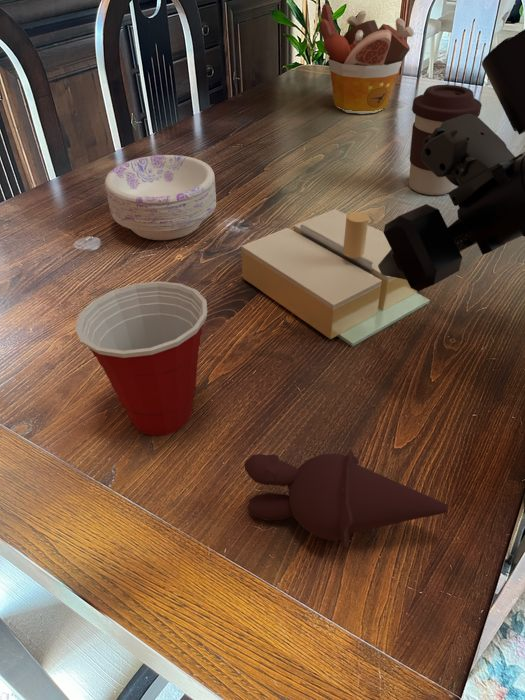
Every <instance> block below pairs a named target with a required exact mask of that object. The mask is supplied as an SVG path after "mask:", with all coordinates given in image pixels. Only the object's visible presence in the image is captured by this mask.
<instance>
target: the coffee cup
mask: <svg viewBox="0 0 525 700" xmlns="http://www.w3.org/2000/svg"><path fill="white" fill-rule="evenodd" d="M474 95H475V94H474V92H473V90H471V89H470V88H469V87H466V86H462V85H457V84H436V85H435V84H434V85H432V86H428V87H427V88H426V89H425V90H424V92H423V93H422V94H420V95H417V96H415V97H414V99H413V100H412V101H413V102H412V105H411V112H412V113H413V114H414V122H413V123H412V128H411V129H412V130H411V140H410V151H409V163H410V166H409V176H408V185H409V187H410V189H411V190H413V191H415V192H416V193H419V194H423V195H427V196H443V195H446V194H448V193H449V192H451V191H452V190H454V189H455V185H454V184H452V183H451V182H450V181H449V180H448V179H447V178H446V177H445V176H444V177H437V176H436V175H435V174H434V173H433V172H432V171H431V170H430V169H429V168H428V167H427V166H426V165H425V164H424V163H423V161H422V159H421V152H422V150H423V148H424V146H423V139H424V138H425V137H427V136H429V135H431V134H432V133H433V132H434V130H435V129H436V128H439V127H440V126H441V124H442V123H443V122H444V121H447V120H450V119H453V118H456V117H459V116H462V115H465V114H472V115H475V116H477V117H478V118H479V116H480V114H481V110H482V106H483V105H482V102H481V101H480V100H479V99H477V98H475V96H474Z"/></svg>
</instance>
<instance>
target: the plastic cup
mask: <svg viewBox="0 0 525 700" xmlns="http://www.w3.org/2000/svg"><path fill="white" fill-rule="evenodd" d="M207 316H208V301H207V299H206V298H205V297H204V296H203V295H202V294H201V293H200V292H199V291H198V289H196V288H194V287H193V288H192V287H190V286H188V285H186V284H183V283H179V282H168V281H160V280H159V281H149V282H139V283H138V282H137V283H132V284H130V285H126V286H122V287H119V288H116V289H112V290H110V291H108V292H106V293H105V294H102V295H101V296H98V297H97V298H95V299H93V300H91V302H90V303H88V305H87V306H86V307H84V308H83V309H82V310H81V311H80V313H78V315H77V319H76V322H75V325H74V330H75V332H76V335H77V337H78V339H79V342H81V344H82V345H83V346H85V347H86V348H88V349H89V350H90V351H91V352H92V354H93V356H94V357H95V358H96V360H97V361H98V363H99V365H100V366H101V368H102V369H103V371H104V373H105V375H106V377H107V378H108V381H109V383H110V385H111V387H112V389H113V391H114V392H115V395H116V397H117V398H118V400H119V402H120V404H121V407H123V408H124V410H125V412H126V414H127V416H128V418H129V420H130V423H131V424H132V425H133V426H134V428H135V429H137V430H138V431H140V432H141V433H142V434H144V435H145V434H146V435H149V436H154V437H157V436H166V435H169V434H172V433H174V432H177V431H179V430H180V429H182V428H183V427H184V426H186V425H187V424H188V421H189V420H190V418H191V416H192V413H193V410H194V409H193V408H194V398H195V396H194V395H195V391H196V385H197V374H198V360H199V351H200V350H199V348H200V345H201V336H202V332H203V329H202V328H203V326H204V323H205V321H206V320H207Z"/></svg>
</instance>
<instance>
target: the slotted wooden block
mask: <svg viewBox="0 0 525 700" xmlns="http://www.w3.org/2000/svg"><path fill="white" fill-rule="evenodd" d="M347 214H348V213H344V212H343V211H341V210H339V209H336V208H333V209H331V210H329V211H326V212H324V213H322V214H318V215H316V216H313V217H311V218H309V219H306V220H303V221H301V222H299V223H296V224H294V225H293V229H291V228H289V227H285V228H282V229H280V230H277V231H275V232H273V233H271V234H268V235H265V236H262V237H260V238H258V239H255V240H253V241H250V242H248V243H245V244H243V245H241V246H240V247H241V248H240V249H241V274H242V275H241V276H242V279H243V280H244V281H246V282H247V283H249V284H251V286H253V287H255V288H256V289H258V290H259V291H261V292H262V293H263V294H265V295H266V296H268V297H269V298H271V299H272V300H274V301H275V302H276V303H277V304H279V305H280V306H281V307H283V308H285V309H286V310H288V311H289V312H291V313H292V314H294V315H295V316H296V317H298V318H299V319H301V320H302V321H303V322H305V323H306V324H307V325H309V326H310V327H312V328H313V329H315V330H316V331H318V332H319V333H320V334H322V335H323V336H325V337H326V338H328V339H329V340H332V339H334V338H336V337H337V338H339V339H340V340H342V342H345V343H346V344H347V345H349V346H350V347H352V348H353V347H355V346H356V345H358V344H360V343H362V342H363V341H365V340H367V339H369V338H371V337H372V336H374V335H376V334H377V333H380V332H381V331H382V330H385V329H386V328H388V327H390V326H392V325H394V324H395V323H397V322H399V321H400V320H402V319H404V318H405V317H408V316H410V315H411V314H414V313H415V312H417V311H418V310H420V309H422V308H424V307H425V306H427V305H429V304H430V301H431V300H430V299H429V298H427V297H426V296H424V295H421V294H420V293H418V292H419V291H416V290H414V289H412V288H411V287H410V285H409V283H408V281H407V280H405V279H400V278H395V277H389V276H384V275H382V274H381V272H380V270H379V268H378V265H379V263H380V262H381V261H382V260H383V259H384V257H385V256H386V255H387V254H388V252H389V251H390V250H391V247H390V245H389V243H388V241H387V239H386V237H385V235H384V233H383V232H384V231H381V230H379V229H377V228H375V227H373V226H371V225H370V224H368V226H367V234H366V242H365V250H364V255H363V256H362V257H363V258H365V259H367V260H369V261H371V262H373V263H374V265H373V272H372V275H371V274H370V273H368V272H366V271H364V270H362V269H361V268H359V267H357V266H355V265H354V264H352V263H350V262H348V261H346V260H345V259H343V258H341V257H339V256H337V255H336V254H334V253H332V252H330V251H329V250H327V249H325V248H323V247H321V246H320V245H318V244H316V243H314V242H312V241H311V240H309V239H307V238H305V237H304V236H302V235H300V225H304V226H306V227H308V228H310V229H312V230H313V231H315V232H317V233H319V234H321V235H323V236H325V237H326V238H328V239H330V240H332V241H334V242H336V243H337V244H339V245H341V246H343V247H344V236H345V225H346V216H347Z"/></svg>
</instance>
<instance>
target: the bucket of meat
mask: <svg viewBox="0 0 525 700" xmlns="http://www.w3.org/2000/svg"><path fill="white" fill-rule="evenodd" d="M366 16H367V12H366V10H361V11H359V12H358V13H357V15H356V16H354V15H351V16H349V17H348V18H347V20H346V24H348V25H352V26H353V27H351V28H350V29H349V30H347V31H345V34H344V35H342V34H339V33H338V30H337V28H336V25H335V23H334V17H333V12H332V8H331V6H330V5H329V3H324V4H323V5H322V7H321V11H320V18H321V20H320V21H319V23H318V27H319V31H320V34H321V37H322V40H323V48H324V50H325V51H326V54H327V55H328V65H329V71H330V72H329V73H330V81H331V87H332V95H333V103H334V106H335V107H336V106H338V107H340V108H342V109H344V110H352V111H375V110H379V109H382V108H384V107H386V108H387V107H388V104H389V101H390V98H391V96H392V92H393V89H394V86H395V83H396V80H397V77H398V75H399V71H400V68H401V67H402V63H403V60H404V59H405V57H406V56H407V54H408V53H409V51H410V49H411V47H410V46H409V44H408V41H407V40H406V39H405V38H411V37H413V36H414V34H415V32H414V29H413V28H412V27H411V26H406V22H405V20H404V19H403V18H400V17H397V19H395V28H394V27H392V26H391V25H390V24H385V23H382V24H381V25H380V27H378V24H377V22H376V20H375V19H372V20H367V21H366V20H365V18H366Z"/></svg>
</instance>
